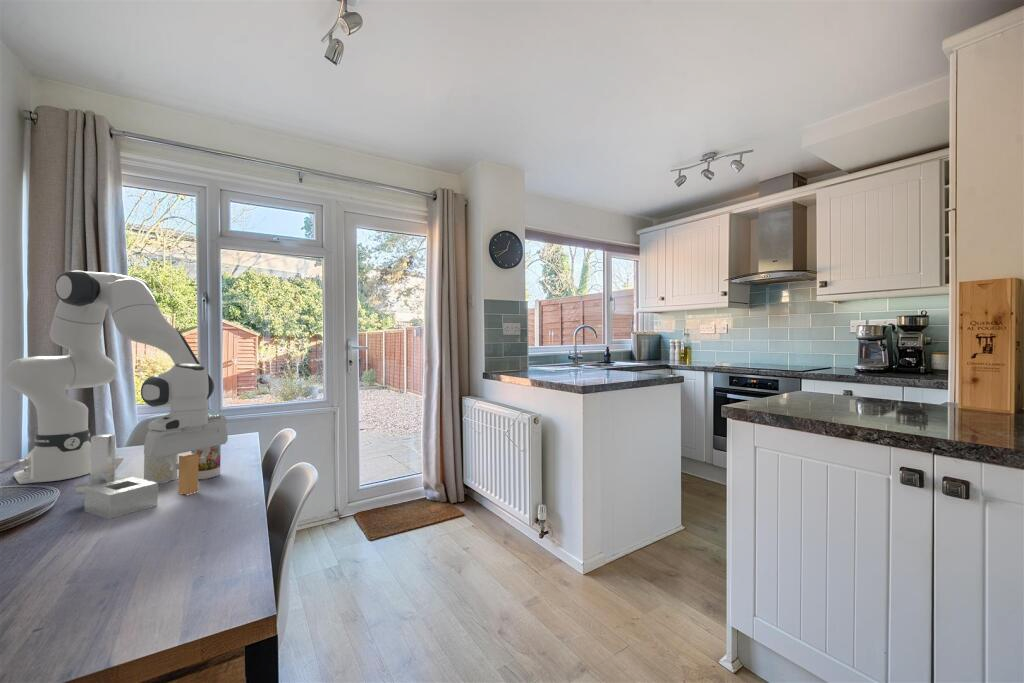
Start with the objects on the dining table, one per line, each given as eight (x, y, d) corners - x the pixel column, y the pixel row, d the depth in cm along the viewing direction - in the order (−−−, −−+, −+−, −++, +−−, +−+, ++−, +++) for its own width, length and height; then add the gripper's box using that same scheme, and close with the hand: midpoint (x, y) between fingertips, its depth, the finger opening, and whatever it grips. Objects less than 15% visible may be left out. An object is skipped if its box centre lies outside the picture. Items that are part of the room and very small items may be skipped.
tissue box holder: (67, 505, 109) (69, 437, 110) (115, 493, 119) (116, 430, 119) (108, 519, 101) (110, 446, 101) (157, 505, 110) (158, 438, 110)
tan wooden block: (178, 493, 119) (178, 455, 119) (189, 489, 122) (190, 452, 122) (186, 495, 117) (187, 457, 118) (198, 492, 120) (198, 454, 120)
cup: (147, 486, 125) (148, 446, 125) (140, 480, 130) (141, 442, 130) (180, 479, 131) (181, 441, 131) (173, 474, 136) (173, 438, 136)
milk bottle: (185, 477, 133) (186, 416, 133) (212, 471, 139) (213, 412, 140) (198, 481, 129) (199, 418, 129) (225, 475, 136) (226, 414, 136)
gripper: (219, 412, 131) (219, 456, 131) (141, 423, 112) (140, 474, 112) (232, 414, 128) (232, 458, 128) (154, 426, 109) (153, 478, 109)
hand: (188, 466), depth 120 cm, fingers open, 5 cm apart
